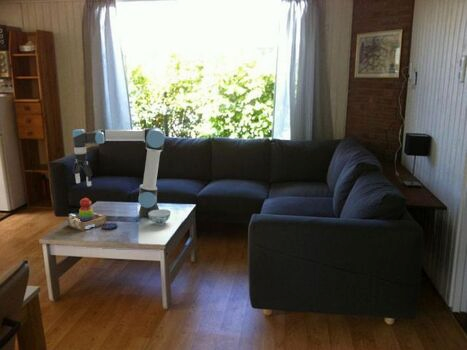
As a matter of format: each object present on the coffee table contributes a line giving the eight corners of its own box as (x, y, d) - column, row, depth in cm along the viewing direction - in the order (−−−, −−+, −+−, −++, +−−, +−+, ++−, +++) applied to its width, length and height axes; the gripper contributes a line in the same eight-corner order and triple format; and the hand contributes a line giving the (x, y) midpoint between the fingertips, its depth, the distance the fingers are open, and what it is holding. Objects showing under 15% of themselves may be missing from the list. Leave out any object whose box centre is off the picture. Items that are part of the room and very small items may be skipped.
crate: (106, 223, 285) (106, 216, 284) (82, 231, 272) (81, 223, 271) (91, 218, 297) (91, 211, 296) (68, 225, 283) (67, 217, 282)
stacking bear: (89, 226, 278) (87, 201, 274) (76, 225, 280) (73, 200, 276) (98, 221, 288) (96, 196, 284) (85, 220, 290) (82, 195, 286)
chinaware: (174, 220, 290) (174, 210, 288) (165, 228, 276) (164, 216, 274) (154, 219, 294) (154, 208, 292) (145, 226, 280) (144, 215, 278)
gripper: (96, 154, 268) (99, 186, 273) (75, 150, 284) (78, 180, 289) (85, 155, 263) (89, 188, 267) (65, 152, 278) (68, 182, 283)
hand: (83, 184), depth 278 cm, fingers open, 13 cm apart
